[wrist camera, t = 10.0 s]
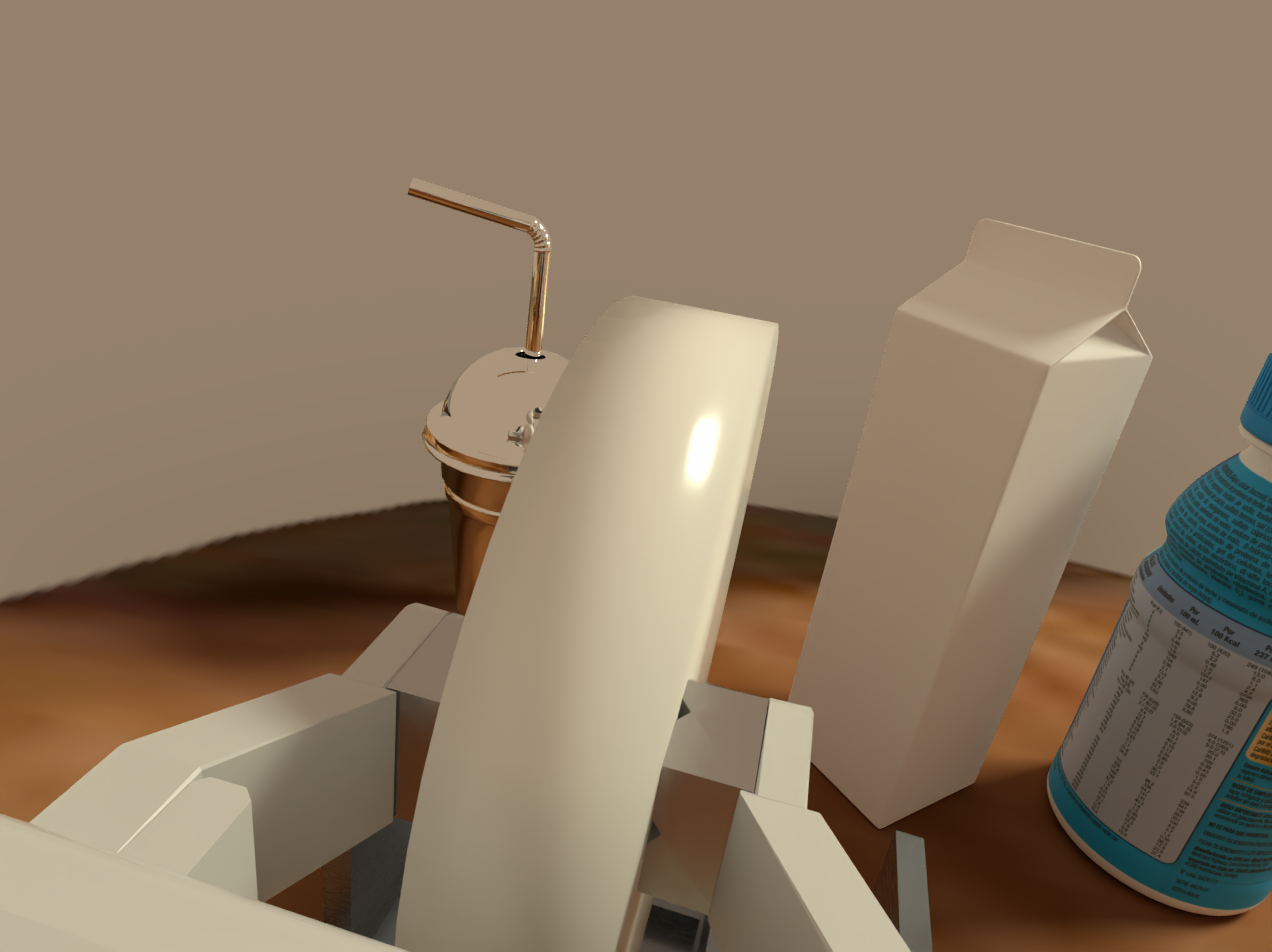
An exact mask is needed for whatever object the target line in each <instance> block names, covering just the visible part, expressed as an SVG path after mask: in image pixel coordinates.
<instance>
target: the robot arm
mask: <svg viewBox="0 0 1272 952" xmlns="http://www.w3.org/2000/svg"><path fill="white" fill-rule="evenodd" d="M464 617H465V616H463V615H460V614H456V613H450V612H448V611H445V610H441V609H437V608H434V607H430V606H426V605H423V604H419V603H413V604H410V605H407V606H406V607H405V608H404V609H403V610H402V611H401V612H400V613H399V614H398V615H397V616H396V617H395V619H394V620H393V621H392V622H391V623H390V624H389V625H388V626H387V627H386V628H385V629H384V630H383V632H382V633H381V634H380V635H379V636H378V637H377V638H376V639H375V640H374V641H373V642H372V643H371V644H370V646H369V647H368V648H367V649H366V650H365V651H364V652H363V653H362V654H361V655H360V656H359V657H358V658H357V660H356V661H355V662H354V663H353V664H352V665H351V666H350V667H349V668H348V669H347V670H346V671H345V673H344V674H343V675H342V676H339V675H336V674H332V673H329V674H326V675H323V676H320V677H317V678H314V679H311V680H308V681H305V682H302V683H299V684H296V685H293V686H291V687H288V688H285V689H282V690H279V691H276V692H273V693H270V694H267V695H264V696H261V697H258V698H255V699H253V700H250V701H247V702H244V703H241V704H238V705H235V706H232V707H229V708H226V709H223V710H220V711H217V712H214V713H212V714H209V715H206V716H203V717H200V718H197V719H194V720H191V721H188V722H185V723H182V724H179V725H176V726H174V727H171V728H168V729H165V730H162V731H159V732H156V733H153V734H150V735H147V736H144V737H141V738H138V739H136V740H133V741H130V742H127V743H124V744H121V745H120V746H119V747H118V748H116V749H115V750H114V751H113V752H112V753H111V754H109V755H108V756H107V757H106V758H105V759H104V760H102V761H101V762H100V763H99V764H98V765H96V766H95V767H94V768H93V769H92V770H91V771H89V772H88V773H87V774H86V775H85V776H84V777H82V778H81V779H80V780H79V781H78V782H76V783H75V784H74V785H73V786H72V787H71V788H69V789H68V790H67V791H66V792H65V793H64V794H62V795H61V796H60V797H59V798H58V799H56V800H55V801H54V802H53V803H52V804H51V805H49V806H48V807H47V808H46V809H45V810H44V811H42V812H41V813H40V814H39V815H38V816H37V817H35V818H34V819H33V820H32V821H31V822H29V823H27V822H24V821H21V820H18V819H15V818H12V817H10V816H7V815H4V814H1V813H0V952H409V951H406V950H403V949H400V948H397V947H394V946H392V945H389V944H386V943H383V942H380V941H377V940H374V939H371V938H368V937H365V936H362V935H359V934H356V933H353V932H350V931H347V930H344V929H341V928H338V927H335V926H332V925H329V924H326V923H323V922H320V921H317V920H315V919H312V918H309V917H306V916H303V915H300V914H297V913H294V912H291V911H288V910H285V909H282V908H279V907H276V906H273V905H270V904H267V903H264V902H266V901H267V900H269V899H270V898H272V897H274V896H275V895H277V894H278V893H280V892H282V891H283V890H285V889H286V888H288V887H290V886H291V885H293V884H294V883H296V882H298V881H299V880H301V879H302V878H304V877H305V876H307V875H309V874H310V873H312V872H313V871H315V870H317V869H318V868H320V867H321V866H323V865H325V864H326V863H328V862H329V861H331V860H333V859H334V858H336V857H337V856H339V855H341V854H342V853H344V852H345V851H347V850H349V849H350V848H352V847H353V846H355V845H357V844H358V843H360V842H361V841H363V840H365V839H366V838H368V837H369V836H371V835H373V834H374V833H376V832H377V831H379V830H381V829H382V828H384V827H385V826H387V825H389V824H390V823H392V822H393V817H394V818H398V819H401V820H405V821H409V822H412V823H413V819H414V814H415V809H416V804H417V799H418V794H419V789H420V784H421V779H422V775H423V771H424V766H425V762H426V758H427V754H428V750H429V746H430V742H431V738H432V734H433V730H434V726H435V722H436V718H437V714H438V709H439V705H440V701H441V697H442V694H443V690H444V687H445V683H446V680H447V676H448V673H449V669H450V666H451V662H452V659H453V656H454V652H455V649H456V645H457V642H458V638H459V635H460V631H461V628H462V624H463V621H464ZM813 718H814V713H813V711H812V708H811V707H807V706H803V705H798V704H794V703H790V702H786V701H782V700H777V699H773V698H769V699H767V698H763V697H759V696H755V695H752V694H748V693H744V692H740V691H736V690H733V689H729V688H725V687H721V686H717V685H714V684H710V683H706V682H702V681H698V680H694V679H691V678H689V679H688V682H687V685H686V688H685V691H684V695H683V698H682V703H681V707H680V712H679V717H678V719H677V720H676V721H675V724H674V728H673V731H672V734H671V738H670V741H669V744H668V748H667V751H666V754H665V758H664V761H663V764H662V768H661V773H660V778H659V783H658V788H657V793H656V798H655V803H654V808H653V813H652V820H653V823H652V826H651V830H650V833H649V837H648V840H647V844H646V848H645V853H644V858H643V863H642V868H641V873H640V878H639V883H638V888H637V891H639V892H642V893H644V894H647V895H650V896H653V897H656V898H659V899H662V900H665V901H668V902H671V903H674V904H677V905H680V906H683V907H685V908H688V909H691V910H694V911H697V912H700V913H703V914H706V915H709V916H708V921H709V924H710V927H711V930H712V933H713V936H714V938H715V941H716V944H717V947H718V950H719V952H911V951H910V949H909V948H908V946H907V945H906V943H905V942H904V940H903V939H902V937H901V936H900V934H899V933H898V931H897V930H896V928H895V927H894V925H893V924H892V922H891V920H890V919H889V917H888V916H887V914H886V913H885V911H884V910H883V908H882V907H881V905H880V904H879V902H878V901H877V899H876V898H875V896H874V895H873V893H872V892H871V890H870V889H869V887H868V885H867V884H866V882H865V881H864V879H863V878H862V876H861V875H860V873H859V872H858V870H857V869H856V867H855V866H854V864H853V863H852V861H851V860H850V858H849V857H848V855H847V854H846V852H845V850H844V849H843V847H842V846H841V844H840V843H839V841H838V840H837V838H836V837H835V835H834V834H833V832H832V831H831V829H830V828H829V826H828V825H827V823H826V822H825V820H824V818H823V817H822V815H821V814H820V813H818V812H815V811H811V810H808V809H807V801H808V788H809V774H810V760H811V746H812V732H813Z"/></svg>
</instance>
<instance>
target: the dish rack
mask: <svg viewBox="0 0 1272 952" xmlns="http://www.w3.org/2000/svg"><path fill="white" fill-rule="evenodd" d="M412 824H413V823H412V822H409V821H405V820H401V819H398V818H394V817H393V822H392V823H390V824H389V825H387V826H385V827H384V828H382V829H381V830H379V831H377V832H376V833H374V834H373V835H371V836H369V837H368V838H366V839H365V840H363V841H361V842H360V843H358V844H357V845H355V846H353V847H352V848H350V849H349V850H347V851H345V852H344V853H342V854H341V855H339V856H337V857H336V858H334V859H333V860H331V861H329V862H328V863H326V864H325V865H323V882H324V923H326V924H329V925H332V926H335V927H338V928H341V929H344V930H347V931H350V932H353V933H356V934H359V935H362V936H365V937H368V938H371V939H374V940H377V941H380V942H383V943H386V944H389V945H392V946H394V947H395V936H396V924H397V915H398V909H399V902H400V895H401V889H402V882H403V875H404V868H405V862H406V855H407V849H408V844H409V839H410V834H411V829H412ZM872 893H873V895H874V896H875V898H876V899H877V901H878V902H879V904H880V905H881V907H882V908H883V910H884V911H885V913H886V914H887V916H888V917H889V919H890V920H891V922H892V924H893V925H894V927H895V928H896V930H897V931H898V933H899V934H900V936H901V937H902V939H903V940H904V942H905V943H906V945H907V946H908V948H909V949H910V951H911V952H933V950H932V937H931V924H930V911H929V898H928V885H927V872H926V859H925V846H924V838H921V837H917V836H914V835H911V834H907V833H904V832H900V831H897V830H896V831H895V834H894V836H893V839H892V842H891V844H890V847H889V850H888V852H887V855H886V858H885V860H884V863H883V866H882V868H881V871H880V873H879V876H878V879H877V881H876V884H875V887H874V889H873V892H872ZM708 916H709V915H706V914H703V913H700V912H697V911H694V910H691V909H688V908H685V907H683V906H680V905H677V904H674V903H671V902H668V901H665V900H662V899H659V898H656V897H654V898H653V902H652V906H651V910H650V914H649V917H648V921H647V925H646V929H645V933H644V937H643V941H642V944H641V948H640V952H719V950H718V947H717V944H716V941H715V938H714V936H713V933H712V930H711V927H710V924H709V921H708Z"/></svg>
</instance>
